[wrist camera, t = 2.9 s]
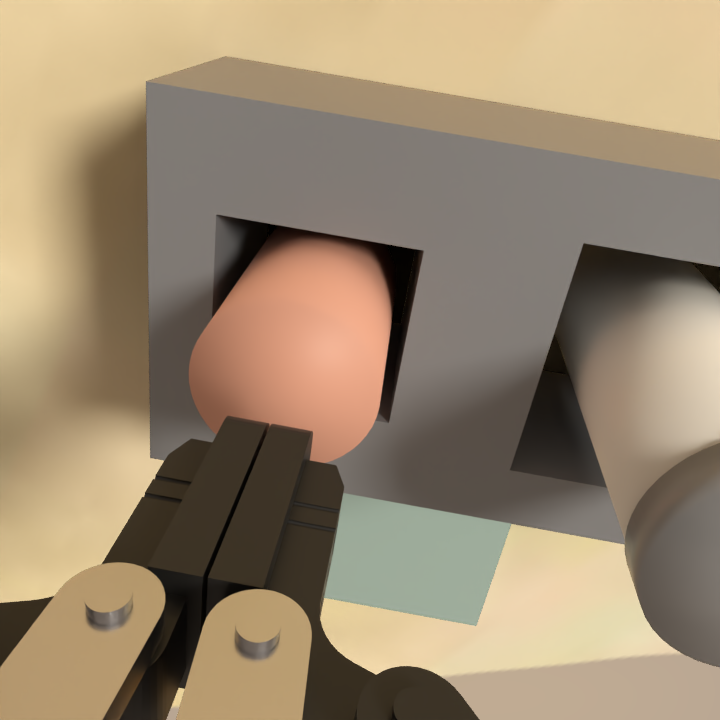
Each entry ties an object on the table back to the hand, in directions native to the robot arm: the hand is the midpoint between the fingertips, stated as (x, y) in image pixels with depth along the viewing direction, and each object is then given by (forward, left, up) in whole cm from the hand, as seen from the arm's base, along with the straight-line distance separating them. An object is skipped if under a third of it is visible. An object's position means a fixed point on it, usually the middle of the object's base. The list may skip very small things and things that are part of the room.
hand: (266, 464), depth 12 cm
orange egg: (0, 0, -8) cm, 8 cm away
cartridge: (+9, 0, -11) cm, 14 cm away
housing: (+5, 0, -11) cm, 12 cm away
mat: (+3, -11, -11) cm, 16 cm away
